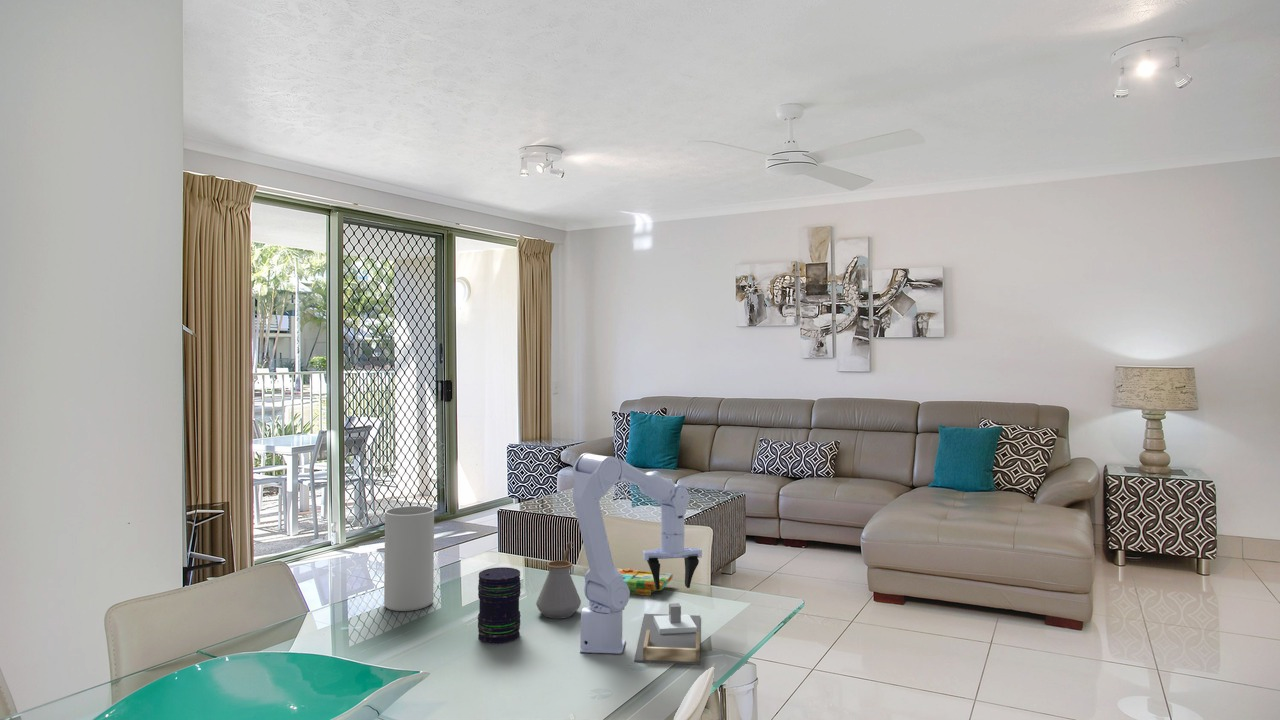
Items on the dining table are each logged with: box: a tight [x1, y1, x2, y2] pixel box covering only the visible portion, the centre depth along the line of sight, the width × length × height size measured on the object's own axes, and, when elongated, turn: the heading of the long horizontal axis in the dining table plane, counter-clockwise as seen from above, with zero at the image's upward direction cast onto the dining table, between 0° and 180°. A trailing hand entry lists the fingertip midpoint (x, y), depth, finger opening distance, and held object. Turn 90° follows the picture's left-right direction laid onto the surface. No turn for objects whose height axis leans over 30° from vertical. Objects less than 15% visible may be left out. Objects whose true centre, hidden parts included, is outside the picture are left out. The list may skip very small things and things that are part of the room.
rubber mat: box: [633, 613, 701, 666], centre depth 173 cm, size 14×30×1 cm, turn 175°
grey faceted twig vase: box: [535, 541, 582, 620], centre depth 194 cm, size 21×12×15 cm, turn 174°
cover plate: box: [654, 602, 697, 634], centre depth 180 cm, size 9×9×5 cm
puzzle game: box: [616, 567, 674, 596], centre depth 211 cm, size 12×5×20 cm
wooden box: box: [643, 630, 701, 662], centre depth 164 cm, size 12×11×3 cm
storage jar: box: [477, 566, 522, 645], centre depth 173 cm, size 10×10×15 cm
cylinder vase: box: [383, 505, 435, 612], centre depth 196 cm, size 12×12×25 cm
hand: (672, 587), depth 181 cm, fingers open, 7 cm apart
